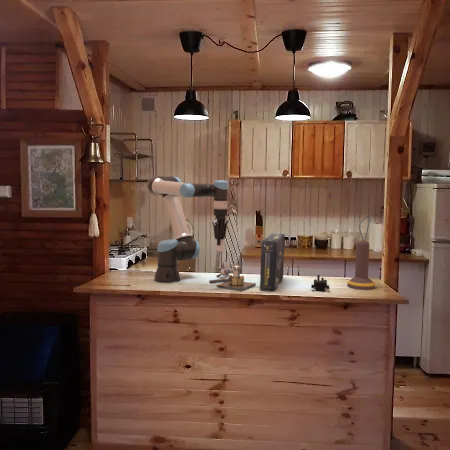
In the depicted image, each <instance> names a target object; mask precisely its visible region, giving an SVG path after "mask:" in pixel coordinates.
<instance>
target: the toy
mask: <svg viewBox="0 0 450 450" xmlns="http://www.w3.org/2000/svg"><path fill="white" fill-rule="evenodd" d="M320 276H321V275H320V274H317V275H316V279H315V278H314V279H313V284H311V289H315V292H322V293H326V292H325V291H326V290H330V285H328V280H327V279H325V278H324V277H320ZM320 278H321V280H320Z"/></svg>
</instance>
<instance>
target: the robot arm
mask: <svg viewBox="0 0 450 450" xmlns="http://www.w3.org/2000/svg"><path fill="white" fill-rule="evenodd" d="M228 183H229V182H228V181H227V180H222V179H221V180H219V179H218V180H217V179H216V180H214V183H206V182H203V183H192V182H191V183H190V182H182V180H181V178H179V177H177V176H172V175H170V176H168V175H167V176H165V175H164V176H163V175H162V176H161V175H160V176H159V175H157V176H156V175H155V176H152V177H150V178H149V179H148V180H147V182H146V189H147V192H149V193H150V194H151V195H153V196H154V195H155V196H161V197H162V200H163V201H165V202H166V206H167V210H168V214H169V217H170V220H171V221H170V222H171V225H172V229H173V232H174V236H175V238H174V239H171V238H170V239H165V240H164V239H163V240H161V241H159V242H158V244H157V249H156V250H157V267H156V271H155V273H154V274H155V275H154V281H155V282H159V283H177V282H180V281H181V275H180V271H179V267H178V262H181V261H190V260H194V259H196V258H198V256H199V253H200V247H201V246H200V244H199V241H198V240H195V239H194V236H193V235H192V234H190V232H189V228H188V224H187V220H186V217H185V213H184V210H183V205H182V202H181V197H183V198H213V208H214V209H213V216H215V218H214V221H212V223H211V224H212V226H213V234H214V239H215V240H216V251H217V252H223V249H224V248H223V247H224V242H223V241H224V240H225V239H226V236H227V235H226V234H227V229H228V228H227V227H228V224H229V220H227V219H226V217H227V216H228V204H229V203H228V201H229V200H228V199H229V198H228V197H229V196H228V195H229V184H228Z"/></svg>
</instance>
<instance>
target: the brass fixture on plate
mask: <svg viewBox="0 0 450 450" xmlns="http://www.w3.org/2000/svg"><path fill="white" fill-rule="evenodd" d="M231 268H232V272H233V273H232V276H233V278H234V277H236V278H240V276H241V275H240V273H241V269H242V265H237V264H235V265H232V267H231ZM256 286H257V283H255V282H248V281H244V284H243V285H231V284H229V282H223V283H217V284H216V289H222V288H223V289H224V290H228V291H229V290H231V291H236V292H244V291H246V290H249V288H250V289H252V288H254V287H256Z"/></svg>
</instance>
